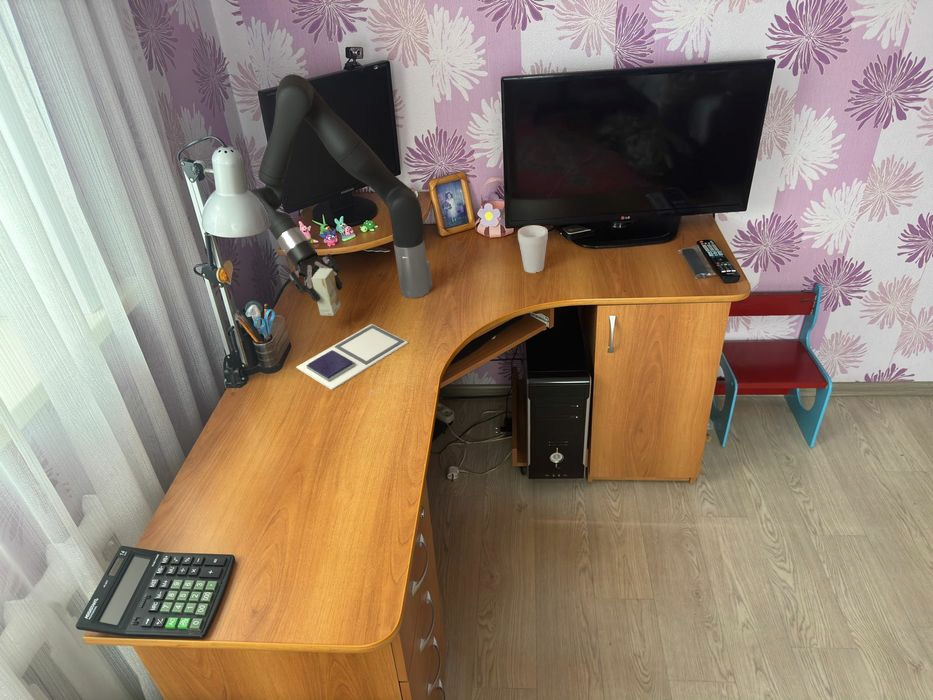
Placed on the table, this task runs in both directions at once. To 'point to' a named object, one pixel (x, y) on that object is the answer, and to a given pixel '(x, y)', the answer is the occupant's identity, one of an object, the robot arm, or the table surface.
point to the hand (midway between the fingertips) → (330, 294)
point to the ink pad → (330, 365)
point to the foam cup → (533, 247)
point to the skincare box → (326, 291)
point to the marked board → (358, 353)
